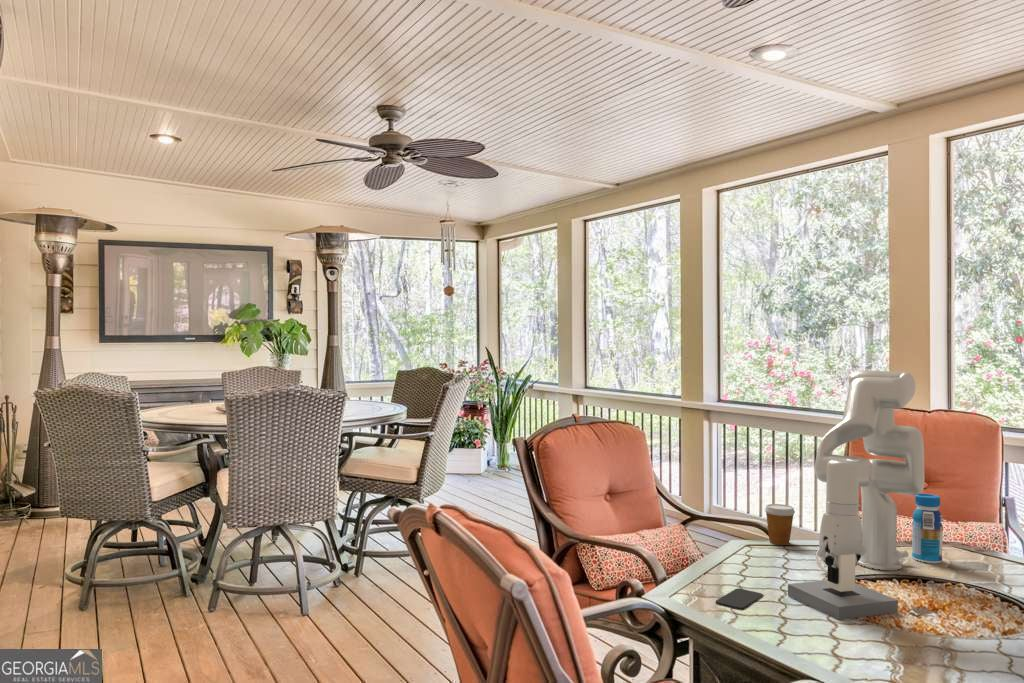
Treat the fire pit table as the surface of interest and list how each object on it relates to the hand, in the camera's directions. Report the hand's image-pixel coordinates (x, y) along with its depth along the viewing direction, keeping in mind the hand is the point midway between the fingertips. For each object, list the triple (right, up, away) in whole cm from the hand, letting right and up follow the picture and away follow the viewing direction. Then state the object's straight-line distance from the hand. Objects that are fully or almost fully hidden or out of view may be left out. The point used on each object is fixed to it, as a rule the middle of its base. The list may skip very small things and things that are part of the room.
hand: (841, 580), depth 187 cm
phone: (-25, -6, +2) cm, 26 cm away
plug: (0, -2, 0) cm, 2 cm away
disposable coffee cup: (+6, -7, +60) cm, 61 cm away
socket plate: (0, -6, 0) cm, 6 cm away
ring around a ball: (+8, -7, +25) cm, 27 cm away
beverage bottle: (+45, -7, +42) cm, 62 cm away
